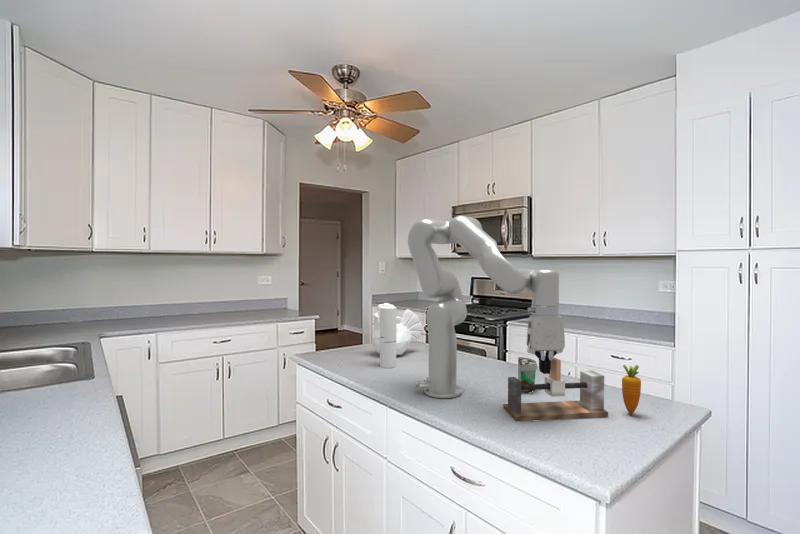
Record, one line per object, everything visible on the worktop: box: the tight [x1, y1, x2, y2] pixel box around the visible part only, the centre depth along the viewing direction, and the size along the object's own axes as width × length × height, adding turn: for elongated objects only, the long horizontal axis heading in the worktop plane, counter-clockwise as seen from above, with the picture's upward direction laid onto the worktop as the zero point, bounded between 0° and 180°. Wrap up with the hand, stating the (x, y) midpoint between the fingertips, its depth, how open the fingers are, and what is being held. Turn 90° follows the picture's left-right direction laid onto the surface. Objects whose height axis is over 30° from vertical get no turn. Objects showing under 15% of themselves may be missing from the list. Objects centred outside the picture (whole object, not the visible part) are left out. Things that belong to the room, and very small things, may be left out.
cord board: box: [502, 370, 609, 423], centre depth 123 cm, size 28×10×12 cm, turn 97°
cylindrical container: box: [379, 306, 398, 369], centre depth 176 cm, size 7×7×25 cm
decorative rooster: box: [372, 302, 423, 356], centre depth 197 cm, size 25×16×25 cm, turn 102°
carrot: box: [621, 364, 642, 416], centre depth 122 cm, size 5×5×15 cm
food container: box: [517, 356, 539, 394], centre depth 145 cm, size 12×6×10 cm, turn 168°
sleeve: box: [544, 356, 566, 398], centre depth 123 cm, size 4×5×11 cm
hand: (544, 372), depth 123 cm, fingers closed
